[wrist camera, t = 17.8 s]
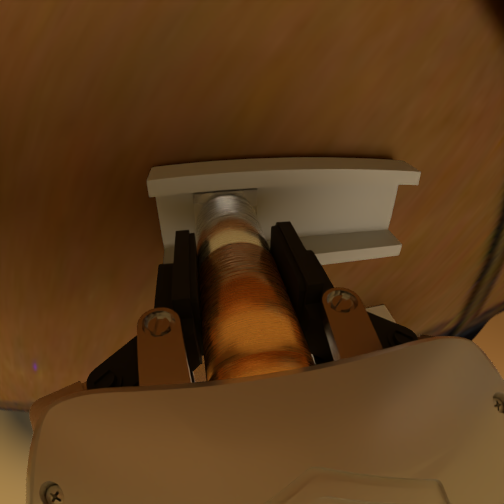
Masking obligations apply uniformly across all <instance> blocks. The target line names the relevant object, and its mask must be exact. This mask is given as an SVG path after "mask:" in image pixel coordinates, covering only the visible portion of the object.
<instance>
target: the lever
mask: <svg viewBox="0 0 504 504" xmlns="http://www.w3.org/2000/svg"><path fill="white" fill-rule="evenodd" d="M193 204H194V215H195V225H196V246H197V261H198V279H199V296H200V310H201V324H202V339H203V350H204V361H205V371H206V380H207V381H215V380H224V379H232V378H240V377H248V376H255V375H262V374H268V373H274V372H280V371H286V370H292V369H297V368H303V367H308V366H313V365H315V363H314V360H313V358H312V355H311V352H310V350H309V347H308V345H307V342H306V339H305V337H304V334H303V332H302V329H301V326H300V324H299V321H298V319H297V316H296V313H295V311H294V308H293V306H292V303H291V301H290V298H289V296H288V293H287V290H286V288H285V285H284V283H283V280H282V278H281V275H280V273H279V270H278V268H277V265H276V263H275V260H274V258H273V255H272V253H271V250H270V248H269V245H268V243H267V240H266V238H265V235H264V233H263V230H262V228H261V225H260V223H259V220H258V218H257V188H246V189H232V190H219V191H207V192H196V193H193Z"/></svg>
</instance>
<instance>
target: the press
mask: <svg viewBox="0 0 504 504" xmlns="http://www.w3.org/2000/svg"><path fill="white" fill-rule="evenodd" d="M420 174H421V172H420V171H419V170H417V169H416V168H414V167H412V166H411V165H409V164H408V163H406V162H404V161H400V160H389V159H369V158H337V157H290V158H257V159H237V160H221V161H208V162H196V163H185V164H175V165H166V166H157V167H152V168H151V170H150V173H149V175H148V178H147V188H148V194H149V197H156V203H157V209H158V215H159V221H160V227H161V233H162V239H163V244H164V259H163V264H169V263H173V261H174V245H175V232H176V231H179V230H189V232H190V233H195V240H196V225H195V215H194V204H193V193H196V192H207V191H219V190H232V189H246V188H257V218H258V220H259V223H260V225H261V228H262V230H263V233H264V235H265V238H266V240H267V243H268V245H269V248H270V240H271V227H272V226H275V225H276V222H286V221H290V222H291V224H292V226H293V227H294V229H295V231H296V233H297V234H298V236H299V238H300V240H301V241H302V243H303V245H304V247H305V249H306V250H312V251H313V252H314V253H315V255H316V257H317V259H318V260H319V262H320V264H321V265H325V264H333V263H341V262H349V261H357V260H365V259H373V258H381V257H388V256H396V255H399V253H400V250H401V246H402V244H401V243H400V242H399V241H398V240H397V239H396V238H395V236H394V235H393V234H392V233H391V232H390V231H389V230H388V227H389V223H390V219H391V215H392V211H393V206H394V202H395V198H396V193H397V189H398V185H418V183H419V179H420ZM196 249H197V246H196ZM366 311H368V312H370V313H372V314H375V315H377V316H380V317H382V318H385V319H387V320H389V321H392V322H394V323H396V322H395V320H394V319H393V317H392V316H391V314H390V313H389V311H388V310H387V308H386V307H385V305H380V306H375V307H371V308H366Z"/></svg>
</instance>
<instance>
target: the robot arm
mask: <svg viewBox="0 0 504 504" xmlns="http://www.w3.org/2000/svg"><path fill="white" fill-rule="evenodd" d="M270 250H271V253H272V255H273V258H274V260H275V263H276V265H277V268H278V270H279V273H280V275H281V278H282V280H283V283H284V285H285V288H286V290H287V293H288V296H289V298H290V301H291V303H292V306H293V308H294V311H295V313H296V316H297V319H298V321H299V324H300V326H301V329H302V332H303V334H304V337H305V339H306V342H307V345H308V347H309V350H310V352H311V355H312V358H313V360H314V363H315V365H313V366H308V367H303V368H297V369H292V370H286V371H280V372H274V373H268V374H262V375H255V376H248V377H240V378H232V379H224V380H215V381H205V382H195V378H194V373H193V371H194V370H195V369H196V368H197V367H198V366H199V365H200V364H202V356H203V355H204V350H203V339H202V324H201V310H200V296H199V279H198V261H197V249H196V240H195V233H190V232H189V230H179V231H176V232H175V245H174V261H173V263H169V264H160V265H159V268H158V276H157V285H156V295H155V306H154V309H151V310H149V311H147V312H145V313H144V314H143V315H142V316H141V317H140V319H139V320H138V323H137V336H136V337H134V338H133V339H132V340H131V341H129V342H128V343H127V344H126V345H124V346H123V347H122V348H121V349H119V350H118V351H117V352H115V353H114V354H113V355H112V356H110V357H109V358H108V359H107V360H105V361H104V362H103V363H102V364H100V365H99V366H98V367H97V368H95V369H94V370H93V371H92V372H91V373H90V375H89V377H88V379H87V381H86V382H84V383H81V382H80V381H78V382H76V383H74V384H71V385H69V386H67V387H65V388H62V389H60V390H58V391H56V392H53V393H51V394H49V395H46V396H44V397H42V398H39V399H38V400H36V401H35V402H34V403H33V405H32V406H31V408H30V412H29V414H30V421H31V424H32V429H33V436H32V441H31V446H30V451H29V459H28V468H27V478H26V504H504V380H503V378H502V377H501V375H500V374H499V372H498V371H497V369H496V368H495V366H494V365H493V363H492V362H491V361H490V359H489V358H488V357H487V356H486V354H485V353H484V352H483V351H482V350H481V348H479V346H477V345H476V344H475V343H474V342H472V341H470V340H468V339H465V338H461V337H452V336H441V337H435V336H429V335H423V334H420V335H419V337H417V336H416V334H415V333H414V332H413V331H411V330H410V329H408V328H406V327H404V326H401V325H399V324H397V323H394V322H392V321H389V320H387V319H385V318H382V317H380V316H377V315H375V314H372V313H370V312H368V311H366V309H365V307H364V305H363V303H362V300H361V299H360V297H359V296H358V295H357V294H356V293H355V292H353V291H351V290H349V289H346V288H340V287H336V288H334V287H333V285H332V283H331V282H330V280H329V278H328V276H327V274H326V273H325V271H324V269H323V267H322V266H321V264H320V262H319V260H318V259H317V257H316V255H315V253H314V252H313V251H312V250H306V249H305V247H304V245H303V243H302V241H301V240H300V238H299V236H298V234H297V233H296V231H295V229H294V227H293V226H292V224H291V222H290V221H286V222H276V225H275V226H272V227H271V240H270Z"/></svg>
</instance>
